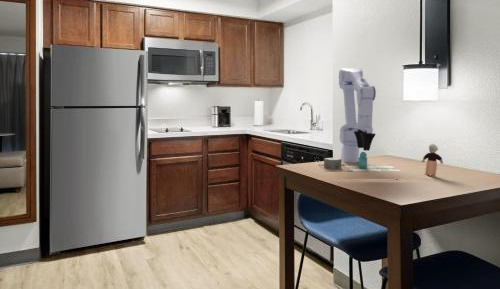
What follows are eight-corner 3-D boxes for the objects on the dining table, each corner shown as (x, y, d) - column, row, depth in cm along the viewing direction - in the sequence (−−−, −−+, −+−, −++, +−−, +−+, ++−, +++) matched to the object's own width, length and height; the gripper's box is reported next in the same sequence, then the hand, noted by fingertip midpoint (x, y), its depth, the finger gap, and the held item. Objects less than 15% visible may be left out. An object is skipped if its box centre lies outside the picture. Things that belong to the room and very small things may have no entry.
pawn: (357, 167, 163) (358, 151, 162) (365, 167, 163) (366, 151, 162) (359, 168, 160) (360, 152, 159) (368, 168, 160) (368, 152, 159)
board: (318, 167, 168) (318, 164, 168) (389, 168, 169) (389, 164, 169) (325, 174, 154) (325, 170, 154) (402, 174, 155) (403, 171, 155)
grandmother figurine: (420, 176, 152) (422, 143, 151) (421, 174, 156) (423, 142, 154) (442, 178, 149) (444, 145, 147) (442, 176, 152) (444, 144, 150)
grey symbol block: (323, 170, 163) (324, 158, 162) (332, 169, 166) (332, 157, 165) (332, 172, 159) (332, 160, 158) (341, 171, 162) (341, 159, 161)
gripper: (350, 115, 166) (349, 146, 168) (360, 116, 151) (359, 151, 153) (366, 115, 166) (365, 146, 168) (378, 117, 152) (376, 151, 153)
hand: (363, 149), depth 160 cm, fingers open, 7 cm apart
